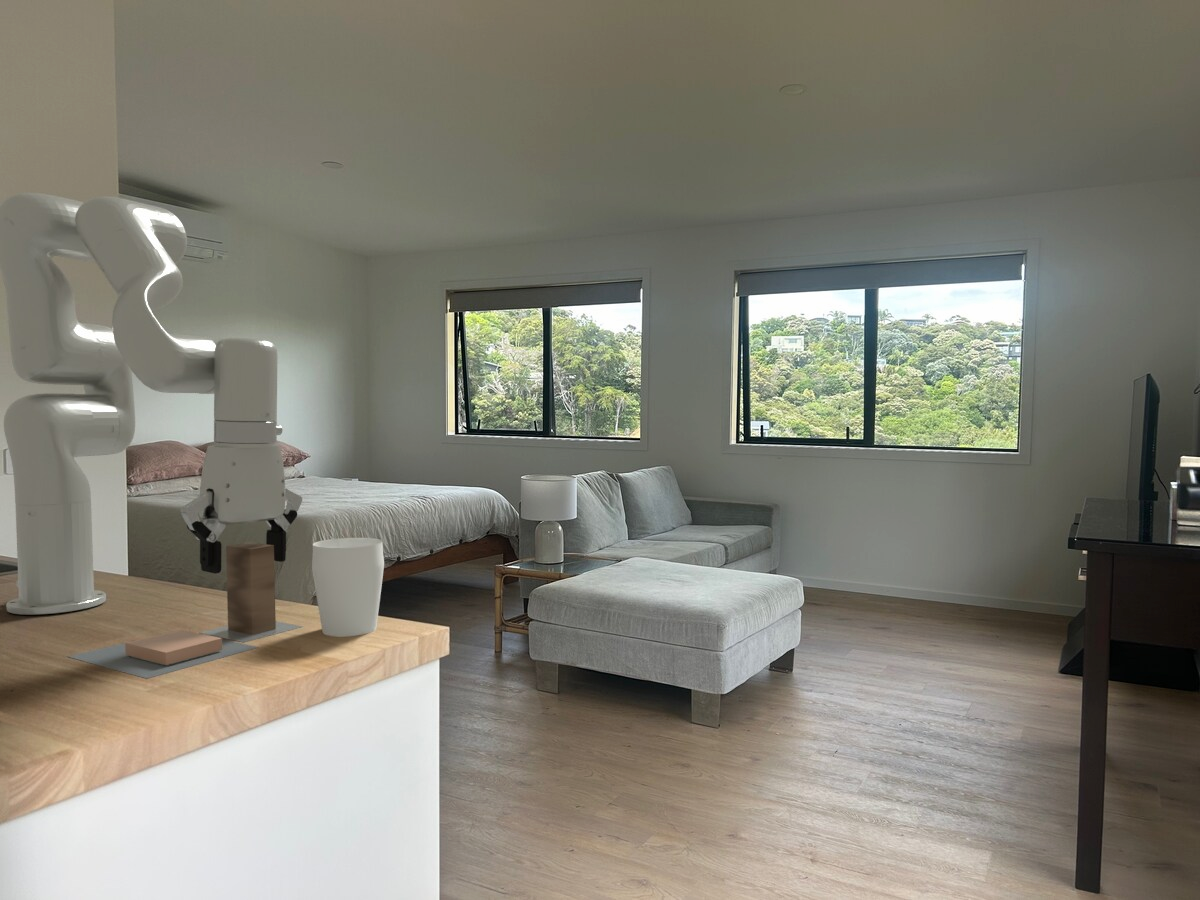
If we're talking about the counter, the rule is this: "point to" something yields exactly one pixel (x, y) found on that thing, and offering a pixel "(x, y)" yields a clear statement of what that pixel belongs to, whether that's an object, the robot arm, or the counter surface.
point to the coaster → (243, 637)
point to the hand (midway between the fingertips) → (244, 565)
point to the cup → (348, 584)
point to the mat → (124, 663)
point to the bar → (250, 588)
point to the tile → (173, 647)
